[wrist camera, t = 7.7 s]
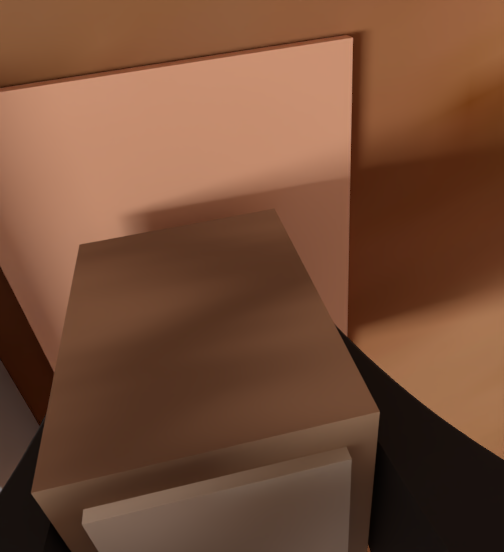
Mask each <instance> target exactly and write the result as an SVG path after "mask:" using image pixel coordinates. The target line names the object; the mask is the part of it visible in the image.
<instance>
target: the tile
mask: <svg viewBox="0 0 504 552" xmlns="http://www.w3.org/2000/svg"><path fill="white" fill-rule="evenodd" d="M352 61H353V37H350V36H348V35H342V36H336V37H329V38H323V39H316V40H310V41H303V42H297V43H290V44H284V45H277V46H271V47H264V48H257V49H251V50H244V51H238V52H231V53H225V54H218V55H212V56H205V57H199V58H192V59H186V60H179V61H173V62H166V63H160V64H153V65H147V66H140V67H134V68H127V69H121V70H114V71H108V72H101V73H95V74H88V75H82V76H75V77H69V78H62V79H56V80H49V81H43V82H36V83H30V84H23V85H17V86H10V87H4V88H0V266H1V268H2V270H3V272H4V274H5V276H6V278H7V280H8V282H9V284H10V286H11V288H12V290H13V292H14V294H15V296H16V298H17V300H18V302H19V304H20V306H21V308H22V310H23V312H24V314H25V316H26V318H27V320H28V322H29V324H30V326H31V328H32V330H33V331H34V333H35V335H36V337H37V339H38V341H39V343H40V345H41V347H42V349H43V351H44V353H45V355H46V357H47V359H48V361H49V363H50V365H51V367H52V369H53V371H54V372H55V367H56V362H57V357H58V352H59V347H60V342H61V337H62V331H63V326H64V321H65V316H66V311H67V306H68V301H69V296H70V290H71V285H72V280H73V275H74V270H75V265H76V260H77V255H78V250H79V245H80V244H85V243H90V242H96V241H101V240H107V239H112V238H118V237H123V236H128V235H134V234H139V233H145V232H150V231H156V230H161V229H166V228H172V227H177V226H183V225H188V224H194V223H199V222H204V221H210V220H215V219H221V218H226V217H232V216H237V215H242V214H248V213H253V212H259V211H264V210H270V209H275V211H276V213H277V214H278V216H279V218H280V220H281V222H282V224H283V226H284V228H285V230H286V232H287V234H288V236H289V238H290V239H291V241H292V243H293V245H294V247H295V249H296V251H297V253H298V255H299V257H300V259H301V261H302V263H303V265H304V266H305V268H306V270H307V272H308V274H309V276H310V278H311V280H312V282H313V284H314V286H315V288H316V290H317V292H318V293H319V295H320V297H321V299H322V301H323V303H324V305H325V307H326V309H327V311H328V313H329V315H330V317H331V318H332V320H333V322H334V324H335V325H336V326H337V327H338V328H339V329H340V330H341V331H342V332H343V333H344V334H345V335H346V336H347V325H348V272H349V219H350V167H351V114H352Z"/></svg>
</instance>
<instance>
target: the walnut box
mask: <svg viewBox="0 0 504 552" xmlns="http://www.w3.org/2000/svg"><path fill="white" fill-rule="evenodd" d="M379 415H380V411H379V409H378V407H377V405H376V403H375V401H374V399H373V397H372V396H371V394H370V392H369V390H368V388H367V386H366V384H365V382H364V380H363V378H362V376H361V374H360V372H359V370H358V369H357V367H356V365H355V363H354V361H353V359H352V357H351V355H350V353H349V351H348V349H347V347H346V345H345V344H344V342H343V340H342V338H341V336H340V334H339V332H338V330H337V328H336V326H335V324H334V322H333V320H332V318H331V317H330V315H329V313H328V311H327V309H326V307H325V305H324V303H323V301H322V299H321V297H320V295H319V293H318V292H317V290H316V288H315V286H314V284H313V282H312V280H311V278H310V276H309V274H308V272H307V270H306V268H305V266H304V265H303V263H302V261H301V259H300V257H299V255H298V253H297V251H296V249H295V247H294V245H293V243H292V241H291V239H290V238H289V236H288V234H287V232H286V230H285V228H284V226H283V224H282V222H281V220H280V218H279V216H278V214H277V213H276V211H275V209H270V210H264V211H259V212H253V213H248V214H242V215H237V216H232V217H226V218H221V219H215V220H210V221H204V222H199V223H194V224H188V225H183V226H177V227H172V228H166V229H161V230H156V231H150V232H145V233H139V234H134V235H128V236H123V237H118V238H112V239H107V240H101V241H96V242H90V243H85V244H80V245H79V250H78V255H77V260H76V265H75V270H74V275H73V280H72V285H71V290H70V296H69V301H68V306H67V311H66V316H65V321H64V326H63V331H62V337H61V342H60V347H59V352H58V357H57V362H56V367H55V372H54V377H53V383H52V388H51V393H50V398H49V403H48V408H47V413H46V418H45V424H44V429H43V434H42V439H41V444H40V449H39V454H38V459H37V464H36V470H35V475H34V480H33V485H32V490H31V494H32V495H33V497H34V498H35V500H36V501H37V503H38V504H39V506H40V507H41V508H42V510H43V511H44V513H45V514H46V516H47V517H48V519H49V520H50V521H51V523H52V524H53V526H54V527H55V529H56V530H57V532H58V533H59V535H60V536H61V537H62V539H63V540H64V542H65V543H66V545H67V546H68V548H69V549H70V550H71V552H367V547H368V536H369V525H370V514H371V503H372V492H373V481H374V470H375V459H376V448H377V437H378V426H379Z"/></svg>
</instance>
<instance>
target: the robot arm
mask: <svg viewBox="0 0 504 552" xmlns="http://www.w3.org/2000/svg"><path fill="white" fill-rule="evenodd" d="M335 326H336V325H335ZM336 328H337V330H338V332H339V334H340V336H341V338H342V340H343V342H344V344H345V345H346V347H347V349H348V351H349V353H350V355H351V357H352V359H353V361H354V363H355V365H356V367H357V369H358V370H359V372H360V374H361V376H362V378H363V380H364V382H365V384H366V386H367V388H368V390H369V392H370V394H371V396H372V397H373V399H374V401H375V403H376V405H377V407H378V409H379V411H380V415H379V426H378V437H377V448H376V459H375V470H374V481H373V492H372V503H371V514H370V525H369V536H368V545H369V548H370V551H371V552H504V460H503V459H502V458H500V457H498V456H497V455H495V454H494V453H492V452H491V451H489V450H487V449H486V448H484V447H483V446H481V445H480V444H478V443H477V442H475V441H474V440H472V439H471V438H469V437H468V436H466V435H465V434H463V433H462V432H460V431H459V430H457V429H456V428H455V427H453V426H452V425H450V424H449V423H448V422H446V421H445V420H443V419H442V418H441V417H439V416H438V415H437V414H435V413H434V412H433V411H431V410H430V409H429V408H427V407H426V406H425V405H424V404H422V403H421V402H420V401H419V400H417V399H416V398H415V397H413V396H412V395H411V394H410V393H408V392H407V391H406V390H405V389H404V388H402V387H401V386H400V385H399V384H398V383H396V382H395V381H394V380H393V379H392V378H391V377H390V376H389V375H387V374H386V373H385V372H384V371H383V370H382V369H381V368H379V367H378V366H377V365H376V364H375V363H374V362H373V361H372V360H371V359H370V358H368V357H367V356H366V355H365V354H364V353H363V352H362V351H361V350H360V349H359V348H358V347H357V346H356V345H355V344H354V343H353V342H352V341H351V340H350V339H349V338H348V337H347V336H346V335H345V334H344V333H343V332H342V331H341V330H340V329H339V328H338V327H337V326H336ZM45 418H46V415H45V417H44V419H43V421H42V423H41V425H40V426H39V428H38V430H37V432H36V434H35V435H34V437H33V439H32V441H31V442H30V444H29V446H28V447H27V449H26V451H25V453H24V454H23V456H22V458H21V460H20V461H19V463H18V465H17V466H16V468H15V470H14V471H13V473H12V474H11V476H10V478H9V479H8V481H7V482H6V484H5V485H4V487H3V489H2V490H1V492H0V552H71V550H70V549H69V548H68V546H67V545H66V543H65V542H64V540H63V539H62V537H61V536H60V535H59V533H58V532H57V530H56V529H55V527H54V526H53V524H52V523H51V521H50V520H49V519H48V517H47V516H46V514H45V513H44V511H43V510H42V508H41V507H40V506H39V504H38V503H37V501H36V500H35V498H34V497H33V495H32V494H31V490H32V485H33V480H34V475H35V470H36V464H37V459H38V454H39V449H40V444H41V439H42V434H43V429H44V424H45Z"/></svg>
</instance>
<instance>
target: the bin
mask: <svg viewBox="0 0 504 552" xmlns="http://www.w3.org/2000/svg"><path fill="white" fill-rule="evenodd" d="M38 428H39V424H38V423H37V421H36V419H35V418H34V416H33V414H32V412H31V411H30V409H29V407H28V406H27V404H26V402H25V401H24V399H23V397H22V395H21V394H20V392H19V390H18V389H17V387H16V385H15V384H14V382H13V380H12V378H11V377H10V375H9V373H8V372H7V370H6V368H5V367H4V365H3V363H2V361H1V360H0V492H1V490H2V489H3V487H4V485H5V484H6V482H7V481H8V479H9V478H10V476H11V474H12V473H13V471H14V470H15V468H16V466H17V465H18V463H19V461H20V460H21V458H22V456H23V454H24V453H25V451H26V449H27V447H28V446H29V444H30V442H31V441H32V439H33V437H34V435H35V434H36V432H37V430H38Z"/></svg>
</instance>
